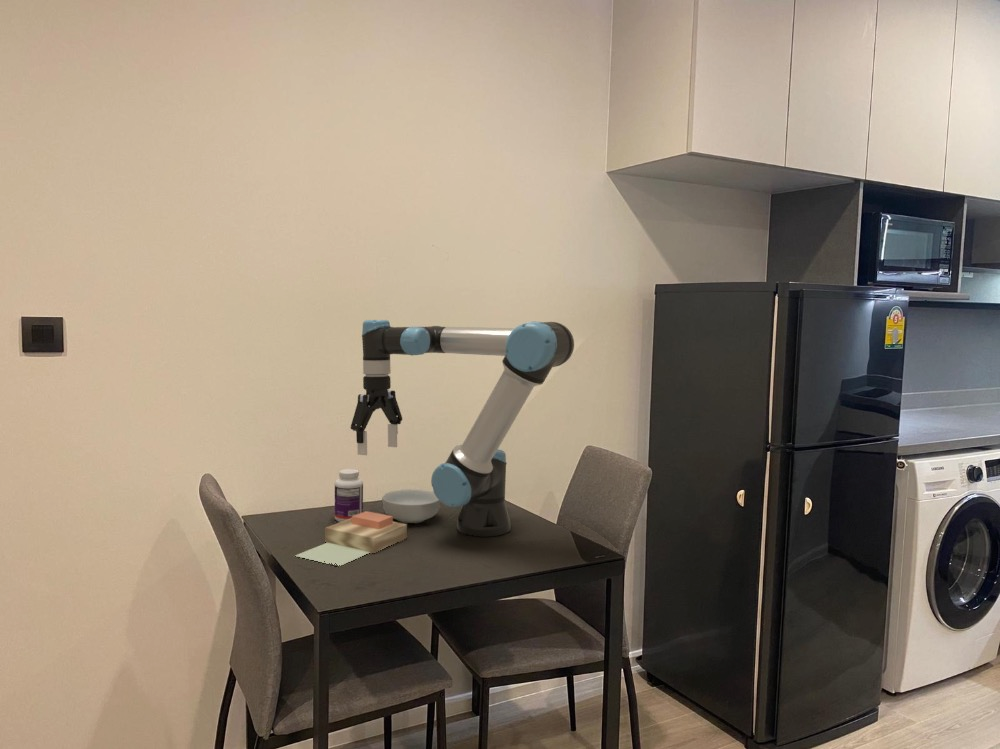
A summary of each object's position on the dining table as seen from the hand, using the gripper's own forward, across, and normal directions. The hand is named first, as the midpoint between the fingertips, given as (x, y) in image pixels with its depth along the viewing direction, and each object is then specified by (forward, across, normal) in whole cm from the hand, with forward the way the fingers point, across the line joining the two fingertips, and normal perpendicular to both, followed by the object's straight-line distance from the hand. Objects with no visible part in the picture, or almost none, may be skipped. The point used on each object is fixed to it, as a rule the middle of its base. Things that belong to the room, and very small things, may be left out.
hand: (377, 450), depth 203 cm
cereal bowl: (+22, -10, +4) cm, 24 cm away
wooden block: (+22, +12, +5) cm, 25 cm away
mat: (+22, +25, +5) cm, 34 cm away
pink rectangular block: (+18, +10, +5) cm, 21 cm away
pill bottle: (+21, 0, -11) cm, 24 cm away
